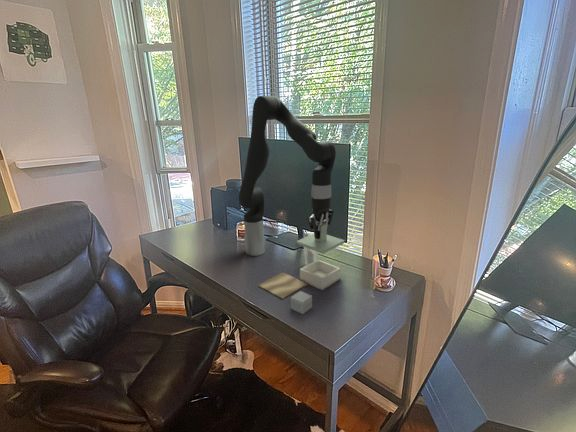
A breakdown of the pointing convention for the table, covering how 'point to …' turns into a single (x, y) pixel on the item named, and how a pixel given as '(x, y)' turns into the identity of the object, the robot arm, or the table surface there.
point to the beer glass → (309, 252)
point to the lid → (321, 241)
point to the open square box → (320, 274)
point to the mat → (282, 285)
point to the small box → (301, 302)
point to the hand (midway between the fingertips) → (320, 237)
